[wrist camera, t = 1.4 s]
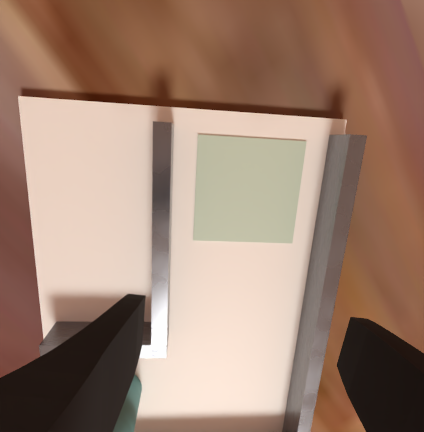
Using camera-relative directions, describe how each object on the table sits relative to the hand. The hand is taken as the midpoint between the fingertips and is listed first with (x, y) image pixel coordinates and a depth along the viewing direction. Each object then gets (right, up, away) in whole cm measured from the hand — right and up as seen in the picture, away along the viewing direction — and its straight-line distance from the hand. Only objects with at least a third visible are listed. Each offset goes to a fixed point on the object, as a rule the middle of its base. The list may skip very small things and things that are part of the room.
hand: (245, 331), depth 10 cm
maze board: (-3, -3, +12) cm, 13 cm away
